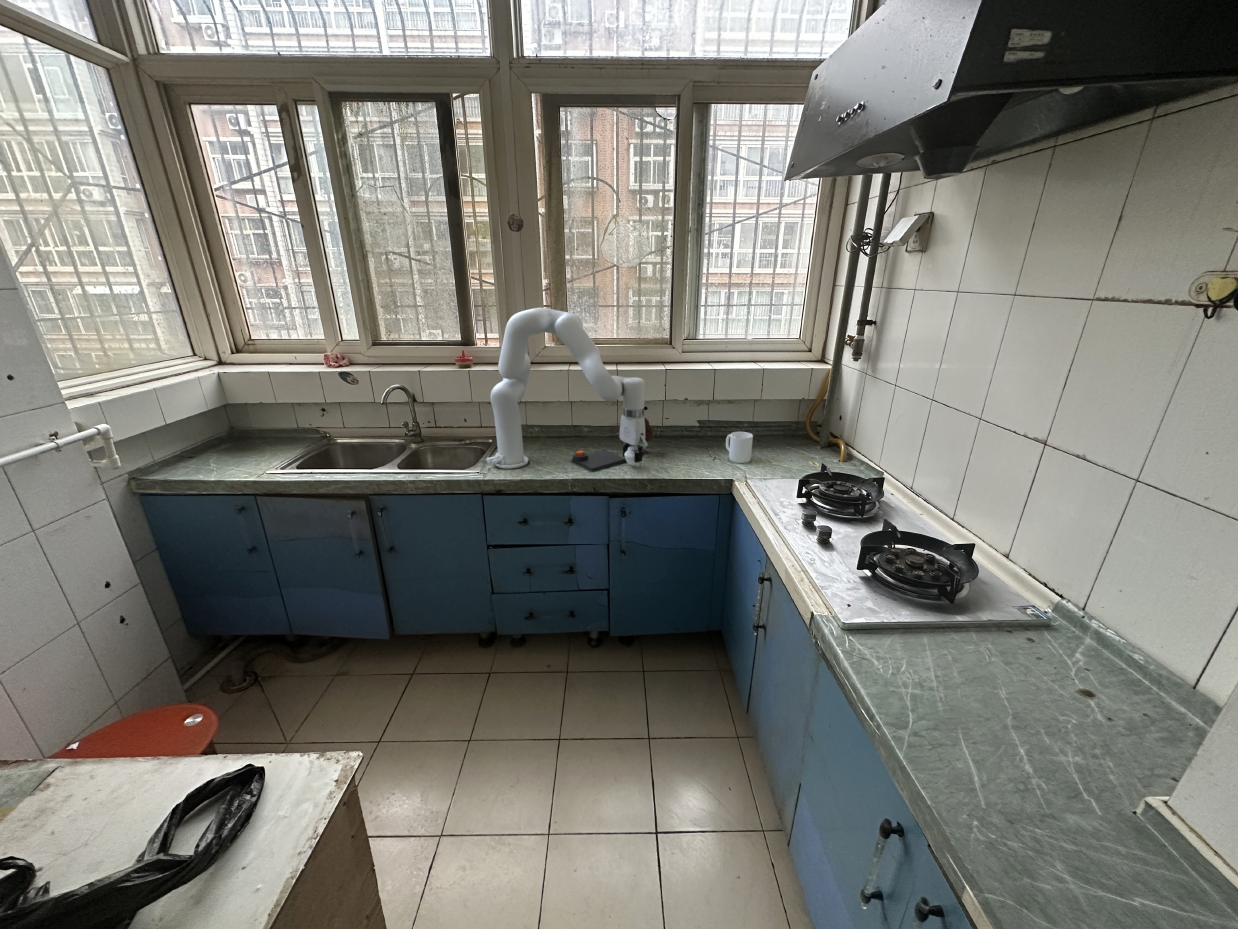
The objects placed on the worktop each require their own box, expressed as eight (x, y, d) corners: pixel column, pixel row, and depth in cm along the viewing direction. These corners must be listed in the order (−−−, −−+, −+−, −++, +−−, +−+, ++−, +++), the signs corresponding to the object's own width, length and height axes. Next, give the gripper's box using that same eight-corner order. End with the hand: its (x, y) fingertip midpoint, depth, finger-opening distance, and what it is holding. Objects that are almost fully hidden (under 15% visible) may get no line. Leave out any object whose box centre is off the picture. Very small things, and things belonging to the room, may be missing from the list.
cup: (739, 465, 188) (742, 439, 184) (717, 456, 197) (719, 431, 194) (755, 460, 192) (757, 435, 189) (732, 452, 202) (734, 428, 198)
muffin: (629, 467, 183) (629, 449, 180) (621, 462, 188) (621, 444, 185) (643, 464, 186) (644, 447, 183) (635, 459, 191) (635, 442, 188)
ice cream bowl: (653, 448, 207) (653, 413, 201) (652, 457, 196) (652, 421, 191) (627, 447, 208) (627, 413, 202) (625, 457, 197) (625, 420, 192)
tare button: (579, 457, 190) (579, 453, 190) (575, 455, 192) (575, 451, 192) (585, 455, 192) (585, 451, 191) (581, 453, 194) (581, 449, 193)
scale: (591, 472, 183) (591, 464, 182) (570, 461, 193) (570, 454, 192) (626, 462, 192) (626, 454, 191) (604, 452, 203) (604, 445, 202)
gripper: (610, 408, 184) (610, 454, 190) (640, 419, 171) (639, 468, 178) (626, 405, 188) (625, 450, 195) (657, 416, 175) (655, 463, 182)
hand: (632, 458), depth 186 cm, fingers closed on muffin, 6 cm apart
